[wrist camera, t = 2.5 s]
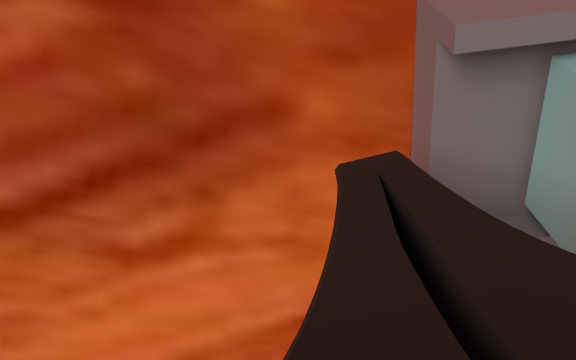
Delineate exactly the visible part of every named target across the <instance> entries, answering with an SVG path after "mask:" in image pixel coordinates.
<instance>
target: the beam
mask: <svg viewBox="0 0 576 360" xmlns="http://www.w3.org/2000/svg"><path fill="white" fill-rule="evenodd" d="M573 53H576V0H417V18H416V42H415V67H414V91H413V116H412V140H411V161H412V162H413V163H414V164H416V165H417V166H418V167H420V168H421V169H422V170H423V171H425V172H426V173H428V174H429V175H430V176H432V177H433V178H434V179H436V180H437V181H439V182H440V183H441V184H443V185H444V186H446V187H447V188H449V189H450V190H452V191H453V192H455V193H456V194H458V195H459V196H461V197H462V198H464V199H465V200H467V201H468V202H470V203H472V204H473V205H475V206H476V207H478V208H480V209H481V210H483V211H485V212H487V213H488V214H490V215H492V216H494V217H495V218H497V219H499V220H501V221H503V222H505V223H507V224H509V225H510V226H512V227H514V228H517V229H519V230H521V231H523V232H525V233H527V234H529V235H532V236H534V237H536V238H538V239H540V240H542V241H544V242H547V243H549V244H552V245H554V246H556V247H559V246H558V244H557V243H556V242H555V241H554V240H553V238H552V237H551V236H550V235H549V233H548V232H547V231H546V230H545V228H544V227H543V226H542V225H541V224H540V222H539V221H538V220H537V219H536V217H535V216H534V215H533V214H532V212H531V211H530V210H529V209H528V208H527V206H526V205H525V199H526V193H527V188H528V183H529V177H530V172H531V166H532V161H533V156H534V150H535V145H536V140H537V134H538V129H539V124H540V118H541V113H542V107H543V102H544V97H545V91H546V86H547V81H548V75H549V70H550V65H551V59H552V56H557V55H565V54H573ZM559 248H560V247H559Z"/></svg>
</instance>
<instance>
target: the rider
mask: <svg viewBox="0 0 576 360" xmlns="http://www.w3.org/2000/svg"><path fill="white" fill-rule="evenodd" d="M525 205H526V206H527V208H528V209H529V210H530V211H531V212H532V214H533V215H534V216H535V217H536V219H537V220H538V221H539V222H540V224H541V225H542V226H543V227H544V228H545V230H546V231H547V232H548V233H549V235H550V236H551V237H552V238H553V240H554V241H555V242H556V243H557V244H558V246H559V247H560V248H561V249H564V250H566V251H569V252H572V253H574V254H576V53H573V54H565V55H557V56H552V59H551V65H550V70H549V75H548V81H547V86H546V91H545V97H544V102H543V107H542V113H541V118H540V124H539V129H538V134H537V140H536V145H535V150H534V156H533V161H532V166H531V172H530V177H529V183H528V188H527V193H526V199H525Z"/></svg>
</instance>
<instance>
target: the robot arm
mask: <svg viewBox="0 0 576 360" xmlns="http://www.w3.org/2000/svg"><path fill="white" fill-rule="evenodd" d="M335 174H336V179H337V185H338V192H337V206H336V214H335V221H334V228H333V232H332V237H331V241H330V246H329V250H328V254H327V258H326V261H325V265H324V268H323V271H322V275H321V278H320V280H319V283H318V286H317V289H316V292H315V294H314V297H313V299H312V302H311V304H310V306H309V309H308V311H307V314H306V316H305V318H304V320H303V323H302V325H301V327H300V329H299V331H298V333H297V335H296V337H295V339H294V341H293V342H292V344H291V346H290V348H289V350H288V352H287V354H286V355H285V357H284V359H283V360H576V254H574V253H572V252H569V251H566V250H564V249H561V248H559V247H556V246H554V245H552V244H549V243H547V242H544V241H542V240H540V239H538V238H536V237H534V236H532V235H529V234H527V233H525V232H523V231H521V230H519V229H517V228H514V227H512V226H510V225H509V224H507V223H505V222H503V221H501V220H499V219H497V218H495V217H494V216H492V215H490V214H488V213H487V212H485V211H483V210H481V209H480V208H478V207H476V206H475V205H473V204H472V203H470V202H468V201H467V200H465V199H464V198H462V197H461V196H459V195H458V194H456V193H455V192H453V191H452V190H450V189H449V188H447V187H446V186H444V185H443V184H441V183H440V182H439V181H437V180H436V179H434V178H433V177H432V176H430V175H429V174H428V173H426V172H425V171H423V170H422V169H421V168H420V167H418V166H417V165H416V164H414V163H413V162H412V161H410V160H409V159H408V158H407V157H405V156H404V155H403V154H401V153H400V152H398V151H393V152H389V153H384V154H380V155H376V156H372V157H367V158H363V159H359V160H355V161H350V162H346V163H342V164H339V165H338V166H337V168H336V169H335Z"/></svg>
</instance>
